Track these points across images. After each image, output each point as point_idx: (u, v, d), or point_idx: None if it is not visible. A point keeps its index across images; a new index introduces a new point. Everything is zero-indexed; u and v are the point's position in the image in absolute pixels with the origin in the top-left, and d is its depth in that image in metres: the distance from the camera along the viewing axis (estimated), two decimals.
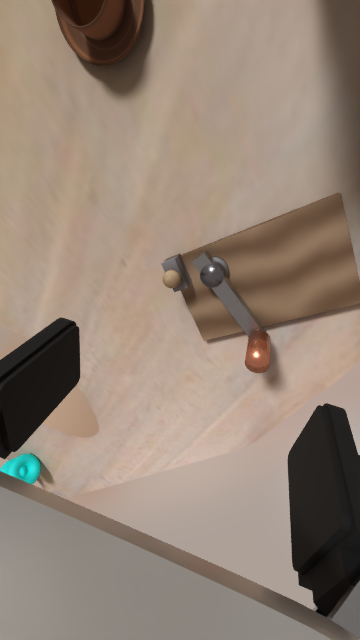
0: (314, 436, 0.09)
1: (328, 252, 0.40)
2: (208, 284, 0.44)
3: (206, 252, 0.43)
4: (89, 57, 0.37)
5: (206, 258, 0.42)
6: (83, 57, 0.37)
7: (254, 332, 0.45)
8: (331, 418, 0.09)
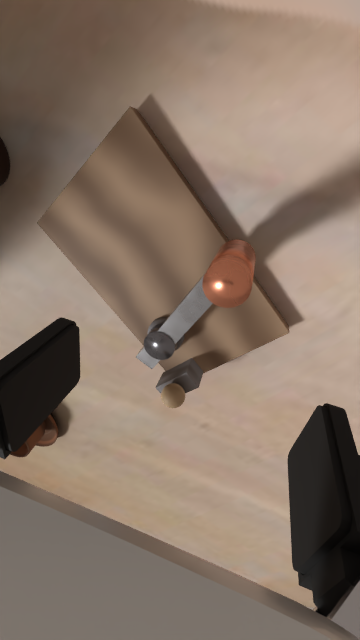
0: (314, 436, 0.09)
1: (91, 204, 0.29)
2: (170, 348, 0.31)
3: (140, 351, 0.34)
4: (56, 430, 0.52)
5: (140, 354, 0.33)
6: (56, 435, 0.51)
7: None
8: (331, 418, 0.09)
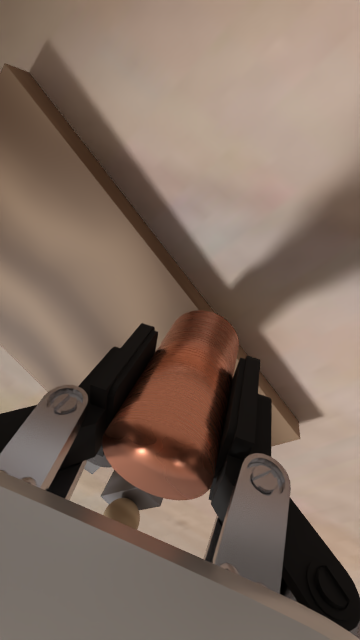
0: (233, 382, 0.10)
1: None
2: None
3: None
4: None
5: None
6: None
7: None
8: (245, 365, 0.10)
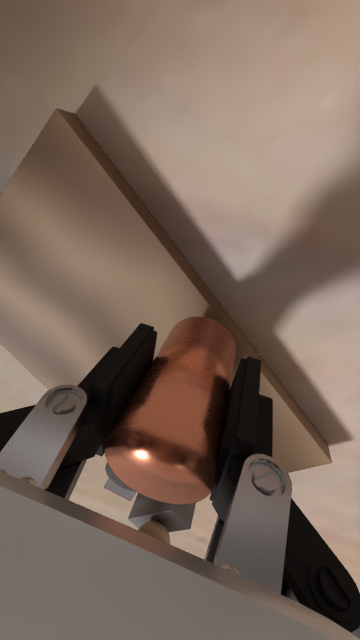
0: (234, 383, 0.10)
1: (14, 264, 0.18)
2: None
3: None
4: None
5: (108, 483, 0.22)
6: None
7: None
8: (246, 366, 0.10)
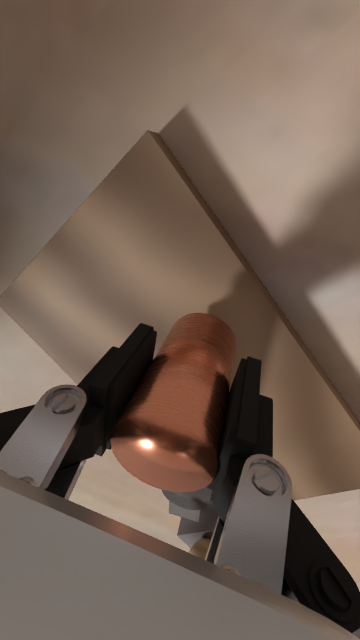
0: (234, 383, 0.10)
1: (78, 282, 0.18)
2: (202, 493, 0.20)
3: None
4: None
5: (171, 507, 0.22)
6: None
7: None
8: (247, 366, 0.10)
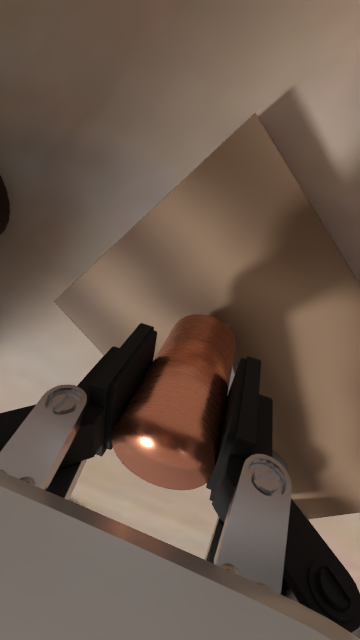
0: (234, 383, 0.10)
1: (150, 280, 0.17)
2: None
3: None
4: None
5: None
6: None
7: None
8: (246, 366, 0.10)
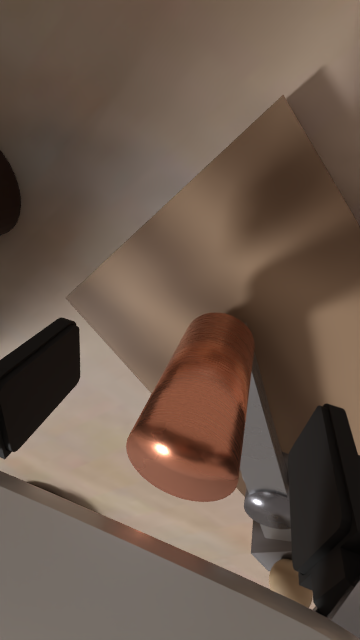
0: (314, 436, 0.09)
1: (165, 276, 0.16)
2: (288, 507, 0.18)
3: None
4: None
5: (265, 531, 0.20)
6: None
7: None
8: (331, 418, 0.09)
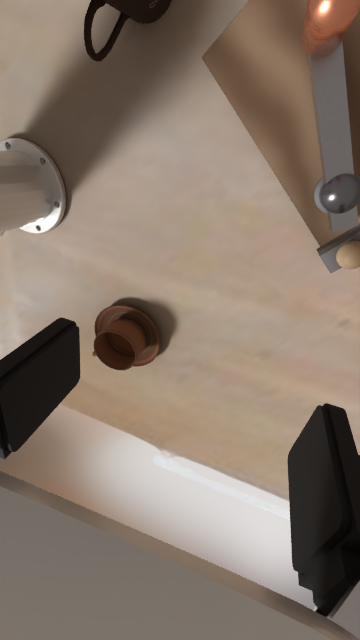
0: (314, 436, 0.09)
1: (280, 16, 0.26)
2: (354, 181, 0.27)
3: (330, 228, 0.31)
4: (157, 345, 0.48)
5: (333, 223, 0.29)
6: (157, 349, 0.48)
7: (324, 54, 0.24)
8: (331, 418, 0.09)
